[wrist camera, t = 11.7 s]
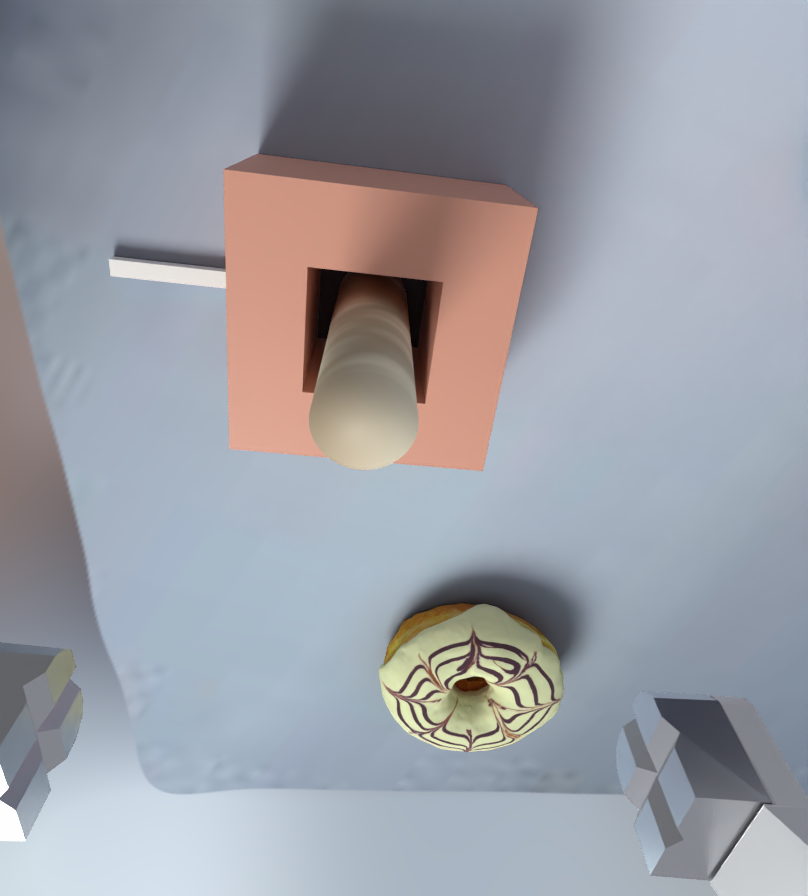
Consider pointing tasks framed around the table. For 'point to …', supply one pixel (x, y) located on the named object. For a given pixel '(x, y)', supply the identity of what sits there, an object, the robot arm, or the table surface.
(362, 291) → the rounded cream peg
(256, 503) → the table surface
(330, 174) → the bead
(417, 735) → the decorated donut
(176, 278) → the white bar
